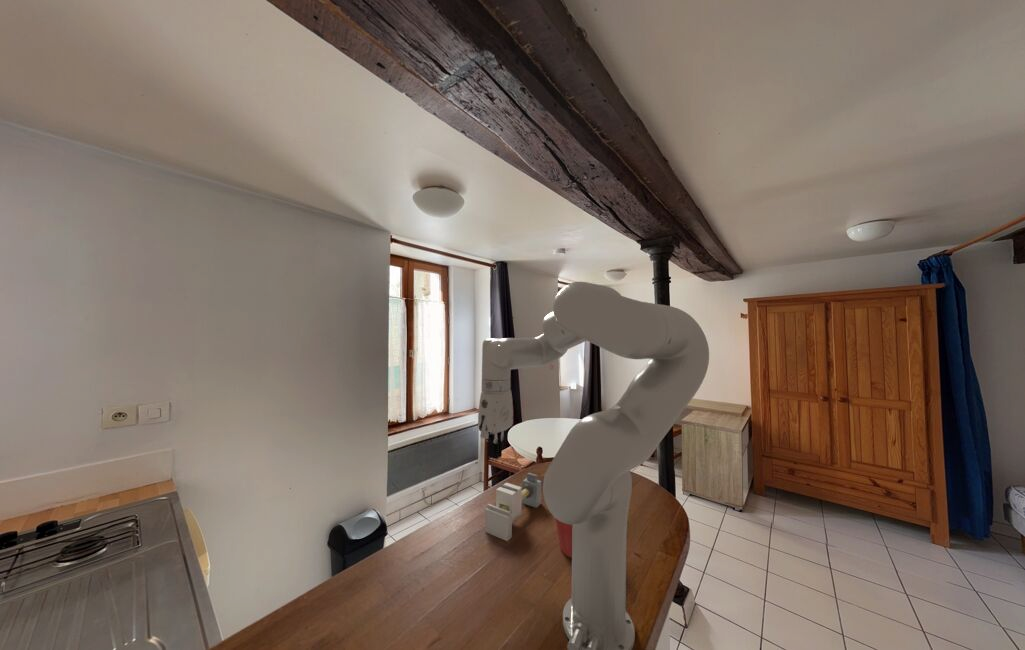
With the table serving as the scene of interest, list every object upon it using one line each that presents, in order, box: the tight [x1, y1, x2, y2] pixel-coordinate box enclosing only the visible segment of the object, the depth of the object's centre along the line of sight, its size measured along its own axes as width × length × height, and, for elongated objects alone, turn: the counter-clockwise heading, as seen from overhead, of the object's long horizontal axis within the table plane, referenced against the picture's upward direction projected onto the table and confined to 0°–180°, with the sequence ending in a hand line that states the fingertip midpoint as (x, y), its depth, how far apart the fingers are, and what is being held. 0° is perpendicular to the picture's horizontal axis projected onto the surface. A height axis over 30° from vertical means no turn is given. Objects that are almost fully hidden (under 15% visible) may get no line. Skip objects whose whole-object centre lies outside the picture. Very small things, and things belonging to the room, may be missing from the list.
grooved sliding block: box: [495, 482, 523, 524], centre depth 88 cm, size 5×5×8 cm
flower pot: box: [554, 517, 573, 559], centre depth 79 cm, size 11×11×10 cm
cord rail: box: [485, 472, 542, 542], centre depth 92 cm, size 21×7×9 cm, turn 148°
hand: (494, 456), depth 82 cm, fingers closed
